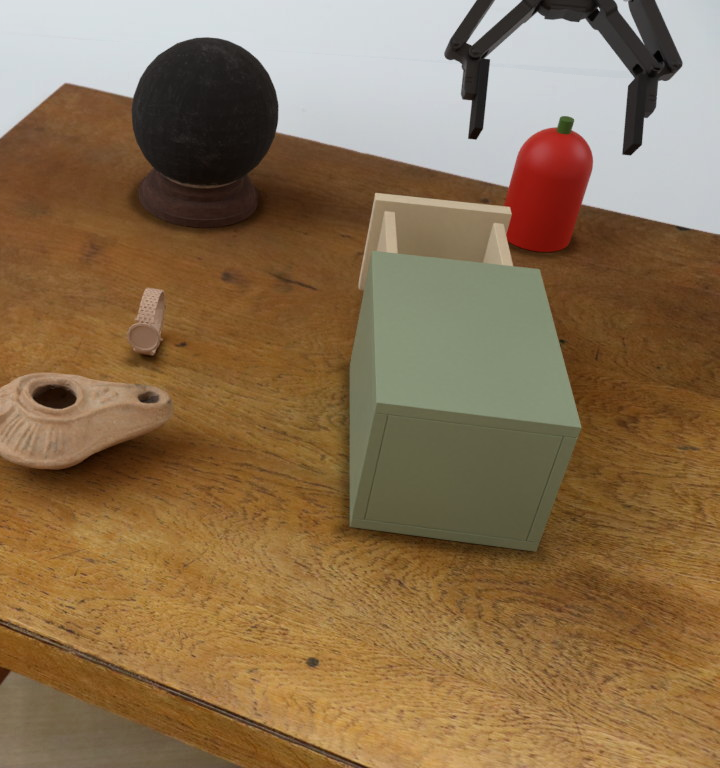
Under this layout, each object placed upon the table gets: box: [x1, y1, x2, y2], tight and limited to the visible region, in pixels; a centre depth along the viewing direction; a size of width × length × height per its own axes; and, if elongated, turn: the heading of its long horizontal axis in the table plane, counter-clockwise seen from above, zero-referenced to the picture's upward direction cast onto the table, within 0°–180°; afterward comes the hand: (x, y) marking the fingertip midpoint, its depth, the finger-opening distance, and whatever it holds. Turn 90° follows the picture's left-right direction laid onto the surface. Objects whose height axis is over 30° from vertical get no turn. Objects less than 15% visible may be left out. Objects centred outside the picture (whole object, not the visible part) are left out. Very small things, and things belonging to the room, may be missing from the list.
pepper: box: [503, 115, 594, 253], centre depth 98 cm, size 6×6×11 cm
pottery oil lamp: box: [0, 372, 175, 471], centre depth 73 cm, size 9×12×7 cm
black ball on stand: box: [131, 36, 279, 229], centre depth 100 cm, size 13×13×15 cm
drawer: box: [358, 192, 514, 291], centre depth 85 cm, size 22×10×8 cm, turn 172°
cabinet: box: [349, 251, 582, 553], centre depth 74 cm, size 18×12×10 cm, turn 172°
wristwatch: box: [126, 287, 167, 356], centre depth 83 cm, size 3×5×5 cm, turn 167°
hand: (553, 142), depth 98 cm, fingers open, 13 cm apart
